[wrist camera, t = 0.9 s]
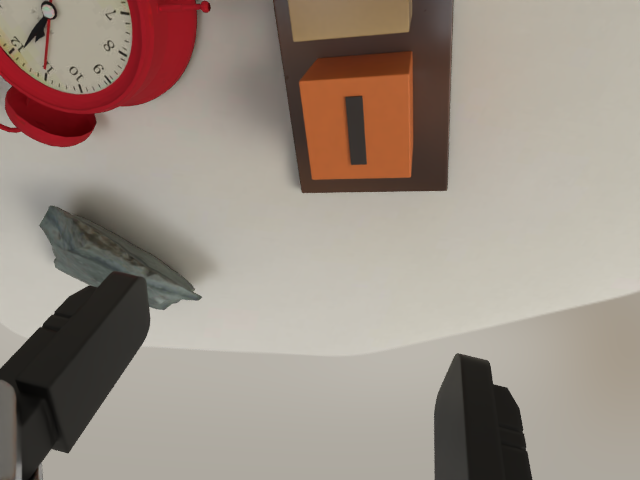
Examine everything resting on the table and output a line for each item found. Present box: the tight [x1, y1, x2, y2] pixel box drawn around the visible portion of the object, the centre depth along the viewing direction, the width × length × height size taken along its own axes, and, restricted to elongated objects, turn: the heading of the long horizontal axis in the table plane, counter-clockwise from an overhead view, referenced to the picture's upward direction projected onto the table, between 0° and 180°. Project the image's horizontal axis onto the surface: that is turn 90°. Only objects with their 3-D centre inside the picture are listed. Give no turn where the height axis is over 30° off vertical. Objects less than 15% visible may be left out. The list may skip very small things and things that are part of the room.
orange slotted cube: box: [299, 51, 413, 180], centre depth 22 cm, size 4×4×4 cm
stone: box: [39, 206, 202, 310], centre depth 32 cm, size 11×4×10 cm
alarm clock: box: [0, 0, 211, 147], centre depth 23 cm, size 10×6×15 cm
